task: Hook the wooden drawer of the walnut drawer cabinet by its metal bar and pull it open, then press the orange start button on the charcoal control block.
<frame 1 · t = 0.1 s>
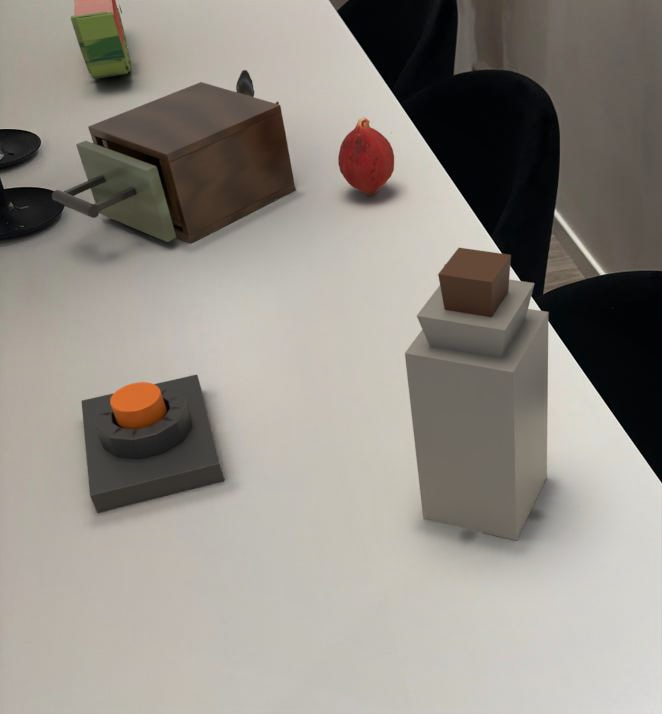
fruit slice: (113, 67, 138), on the table
pomegranate: (370, 196, 104), on the table
start button: (138, 406, 70), point 4 cm above the table, slide at 0.1 cm
drawer cabinet: (206, 200, 104), on the table
eagle figurine: (249, 135, 117), on the table
wooden drawer: (153, 178, 98), point 5 cm above the table, slide at 1.0 cm
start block: (153, 448, 73), on the table
perfume bottle: (486, 499, 68), on the table
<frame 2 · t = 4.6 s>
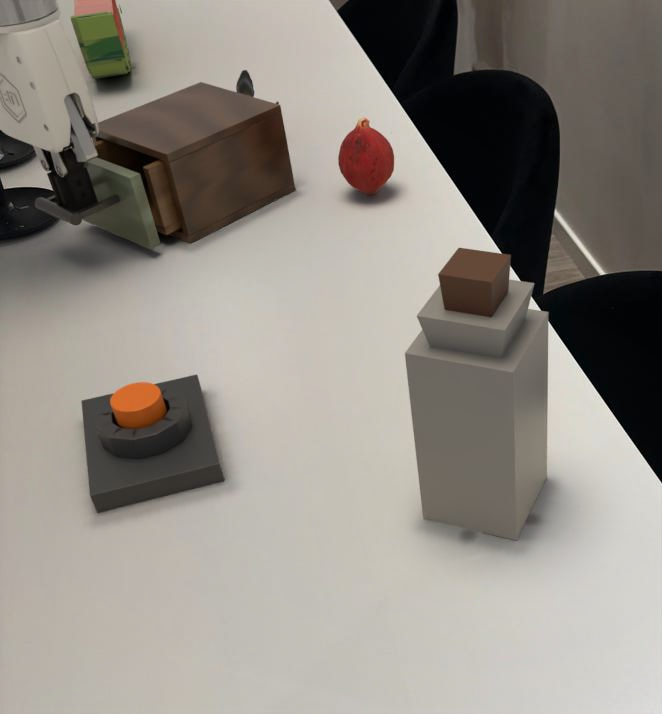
hand: (80, 209, 93), 5 cm above the table, tool pointing down, fingers closed
wooden drawer: (137, 185, 97), point 5 cm above the table, slide at 2.9 cm, touching gripper
everything else where it was.
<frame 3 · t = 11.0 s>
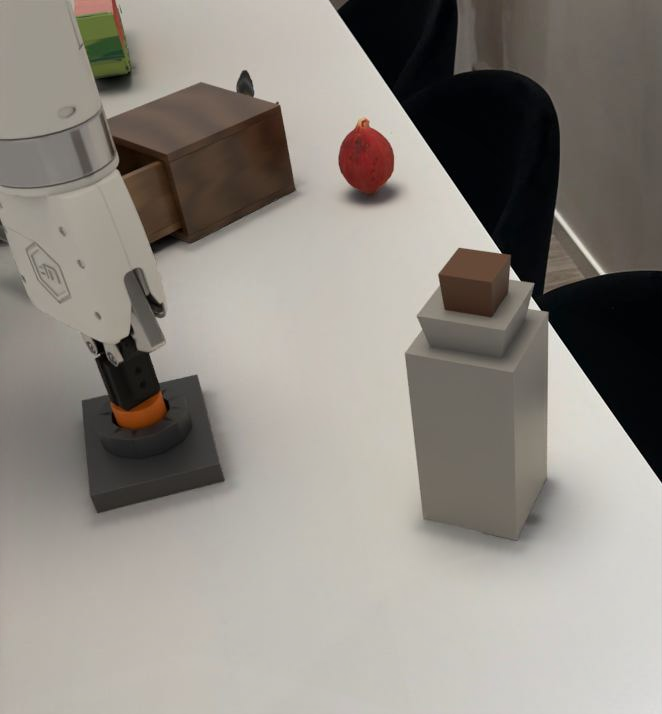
hand: (136, 397, 70), 5 cm above the table, tool pointing down, fingers closed
start button: (139, 407, 70), point 4 cm above the table, slide at 0.0 cm, touching gripper
wooden drawer: (91, 206, 94), point 5 cm above the table, slide at 8.5 cm
everything else where it was.
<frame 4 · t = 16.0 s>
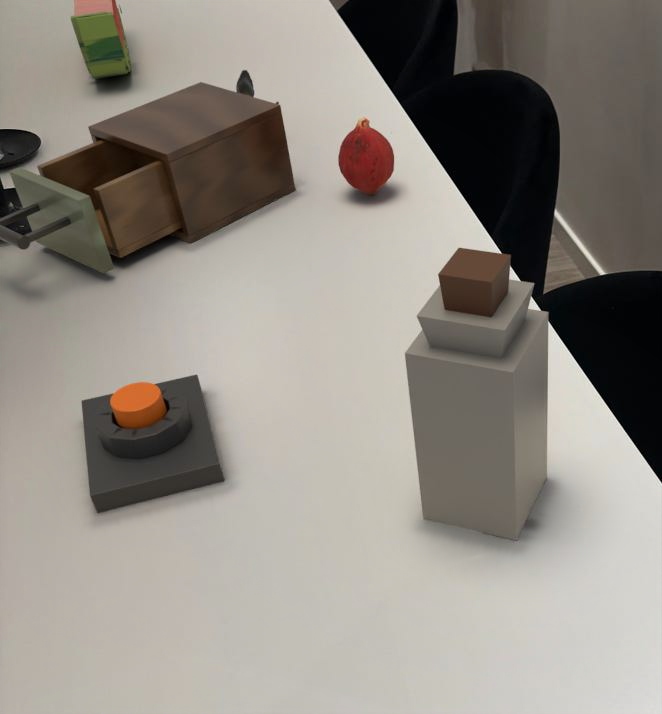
start button: (138, 406, 70), point 4 cm above the table, slide at 0.1 cm
everything else where it was.
at the end: wooden drawer slide at 8.5 cm; start button pushed in 1.1 cm at the most during the clip, back to where it started at the end; start button slide at 0.1 cm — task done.
